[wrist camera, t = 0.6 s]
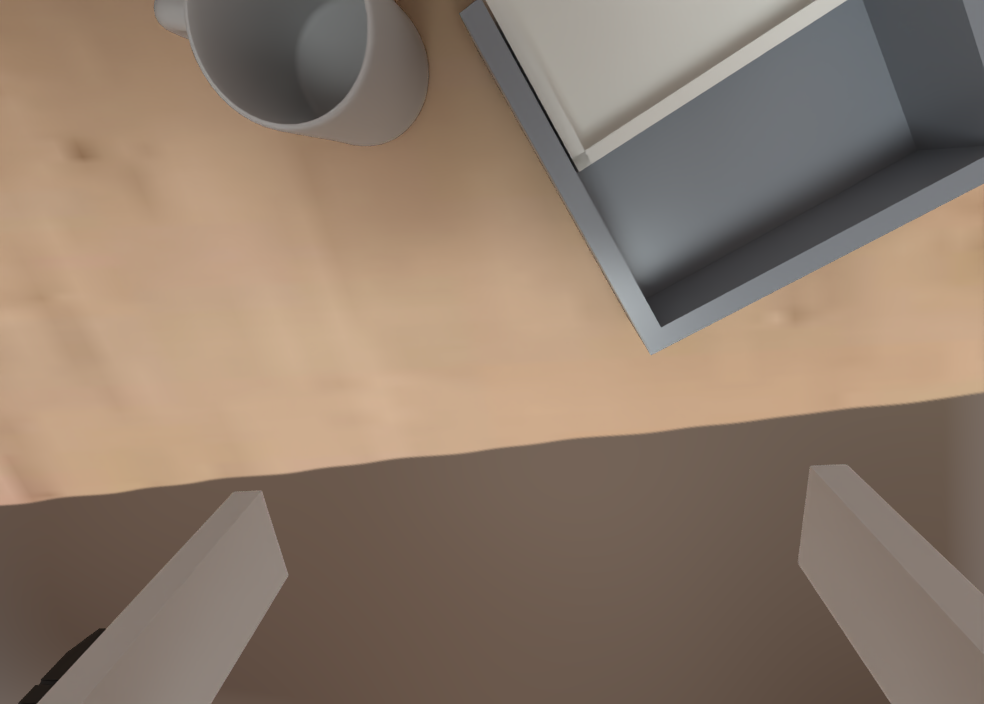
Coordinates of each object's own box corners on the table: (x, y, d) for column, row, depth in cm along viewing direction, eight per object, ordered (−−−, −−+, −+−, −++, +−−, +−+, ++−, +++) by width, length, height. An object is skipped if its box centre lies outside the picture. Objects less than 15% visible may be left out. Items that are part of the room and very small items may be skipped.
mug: (439, 7, 30) (386, -83, 19) (420, 158, 33) (365, 149, 22) (245, -30, 30) (90, -138, 20) (243, 123, 33) (108, 98, 23)
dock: (476, 49, 30) (459, 13, 24) (805, -200, 25) (899, -332, 19) (630, 321, 35) (650, 355, 28) (933, 157, 30) (1043, 152, 23)
